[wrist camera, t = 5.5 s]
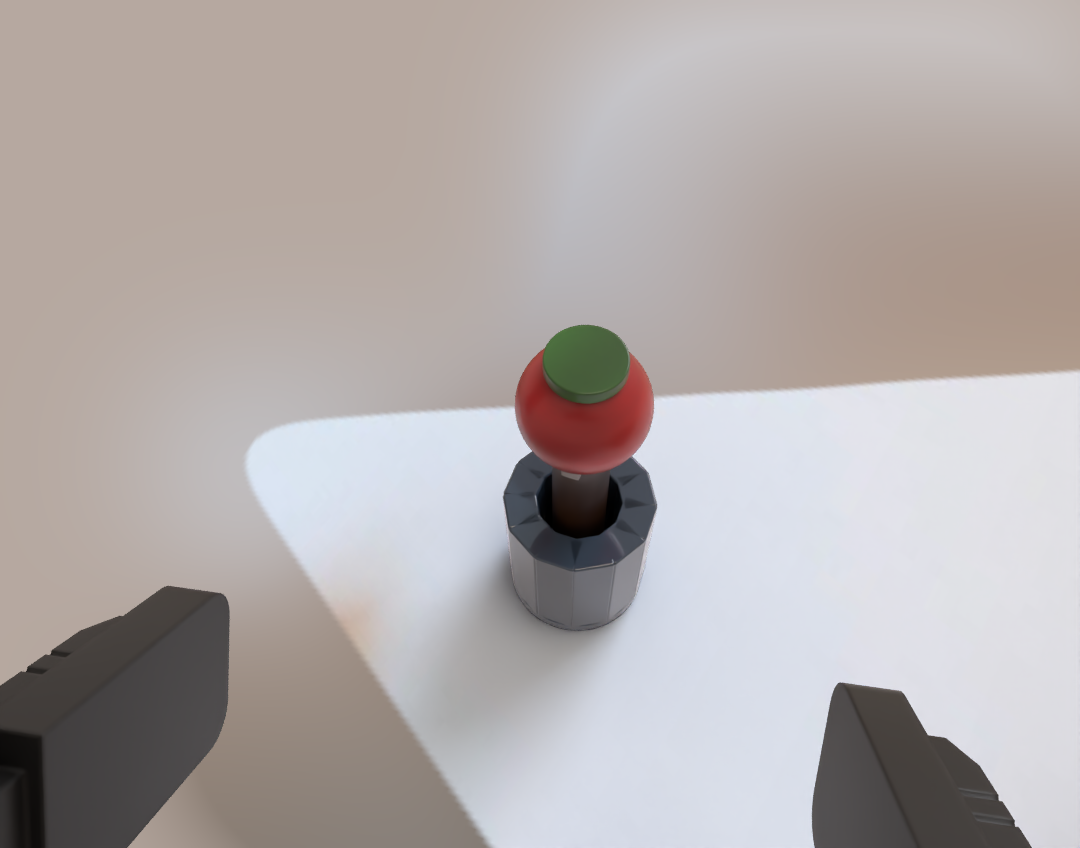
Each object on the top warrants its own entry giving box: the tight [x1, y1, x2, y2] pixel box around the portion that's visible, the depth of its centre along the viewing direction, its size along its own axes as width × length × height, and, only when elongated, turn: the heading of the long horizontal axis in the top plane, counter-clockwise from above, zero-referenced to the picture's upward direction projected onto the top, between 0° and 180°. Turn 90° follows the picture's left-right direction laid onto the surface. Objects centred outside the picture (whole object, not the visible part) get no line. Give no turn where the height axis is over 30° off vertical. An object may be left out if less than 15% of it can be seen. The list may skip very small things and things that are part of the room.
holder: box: [503, 451, 657, 630], centre depth 28 cm, size 4×4×5 cm
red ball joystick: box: [515, 325, 654, 539], centre depth 24 cm, size 3×3×11 cm
